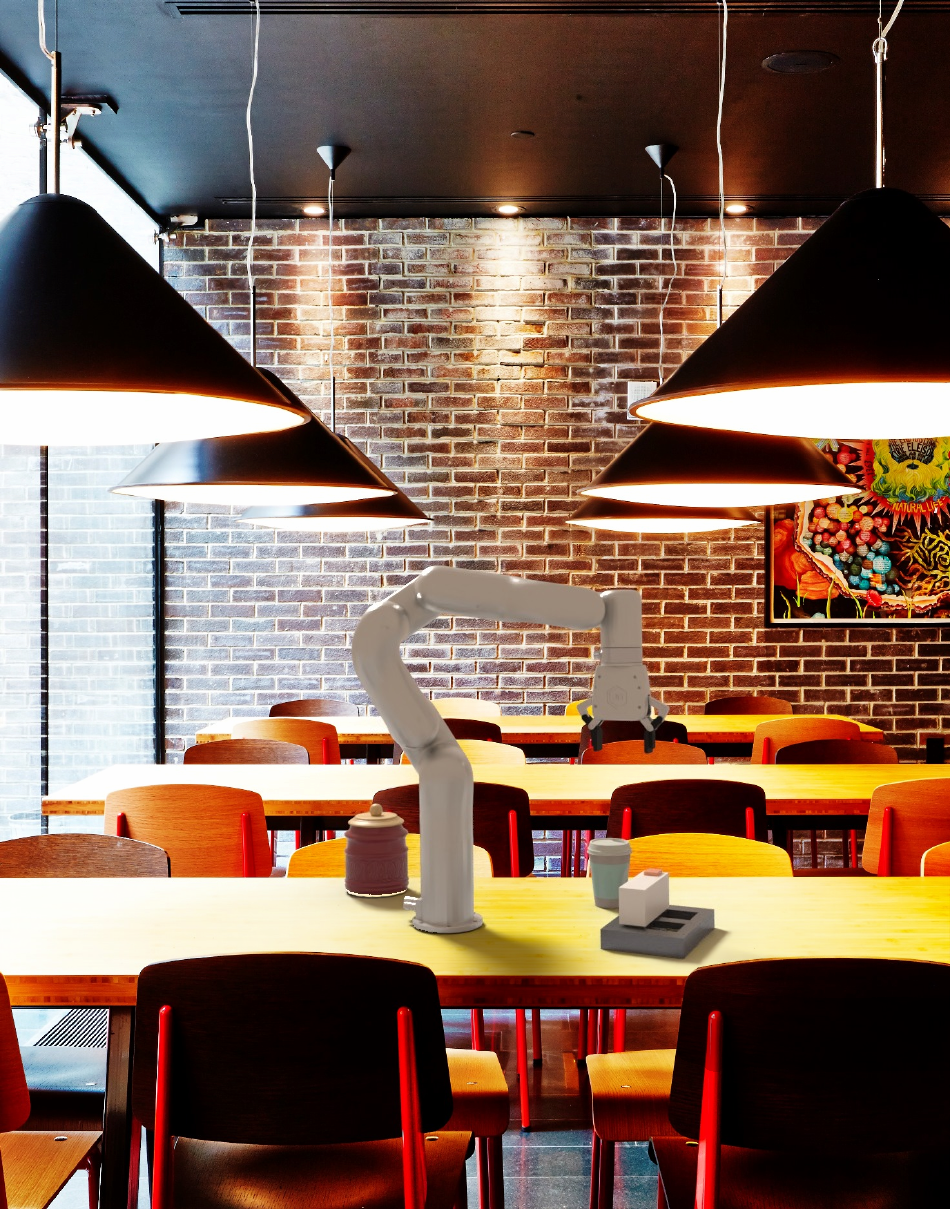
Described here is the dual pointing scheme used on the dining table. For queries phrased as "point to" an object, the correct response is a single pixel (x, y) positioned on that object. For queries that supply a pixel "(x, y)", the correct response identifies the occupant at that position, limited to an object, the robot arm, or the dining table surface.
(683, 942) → the grey frame with openings
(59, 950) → the dining table surface
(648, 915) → the white block orange button
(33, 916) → the dining table surface
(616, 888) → the coffee cup
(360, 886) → the canister
